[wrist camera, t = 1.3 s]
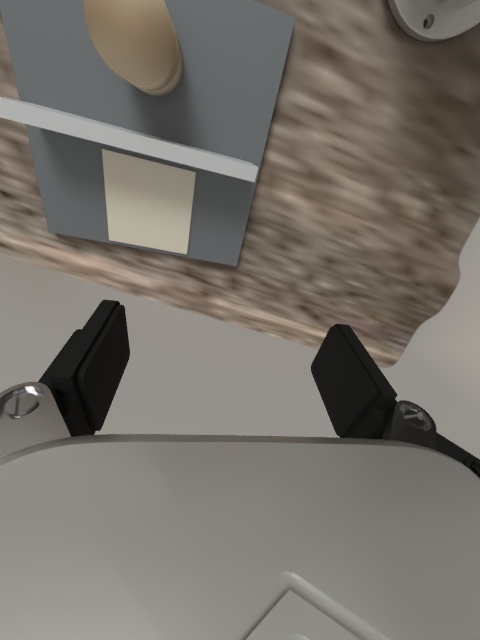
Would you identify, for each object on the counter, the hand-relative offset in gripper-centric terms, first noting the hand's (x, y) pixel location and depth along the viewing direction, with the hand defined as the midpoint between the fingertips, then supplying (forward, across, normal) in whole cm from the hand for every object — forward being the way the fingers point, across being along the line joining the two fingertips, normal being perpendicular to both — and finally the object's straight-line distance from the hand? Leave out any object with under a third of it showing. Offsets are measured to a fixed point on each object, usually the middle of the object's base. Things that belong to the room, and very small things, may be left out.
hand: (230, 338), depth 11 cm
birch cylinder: (+22, +7, -12) cm, 26 cm away
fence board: (+22, +8, -6) cm, 24 cm away
